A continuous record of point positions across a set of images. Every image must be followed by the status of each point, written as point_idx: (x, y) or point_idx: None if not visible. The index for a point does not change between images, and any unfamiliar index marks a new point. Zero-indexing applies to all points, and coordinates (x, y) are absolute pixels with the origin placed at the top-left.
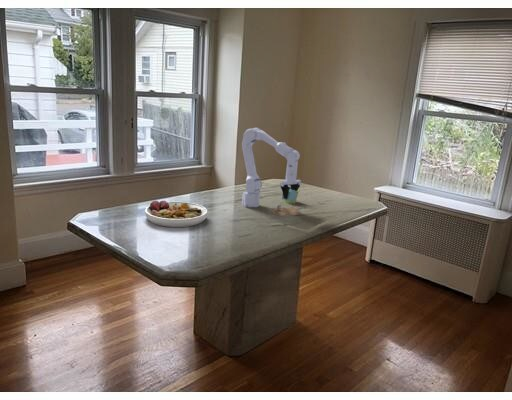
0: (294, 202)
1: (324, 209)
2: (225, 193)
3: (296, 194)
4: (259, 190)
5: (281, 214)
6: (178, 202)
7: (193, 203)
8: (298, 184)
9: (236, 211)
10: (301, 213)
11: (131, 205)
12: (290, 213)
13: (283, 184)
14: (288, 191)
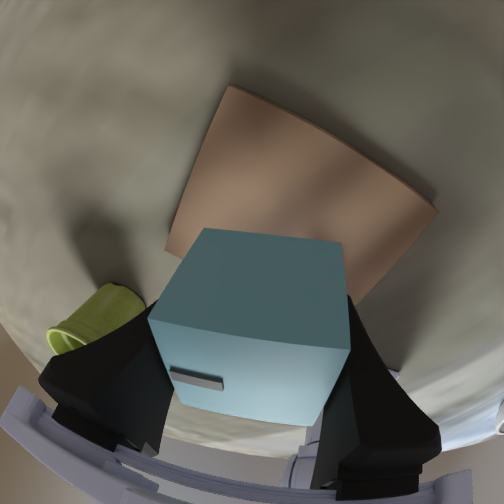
0: (107, 291)
1: (21, 141)
2: (268, 446)
3: (176, 275)
4: (312, 450)
5: (398, 203)
6: (499, 431)
7: (502, 422)
8: (54, 399)
9: (444, 371)
10: (223, 109)
11: (487, 440)
12: (312, 169)
13: (459, 501)
14: (358, 377)
